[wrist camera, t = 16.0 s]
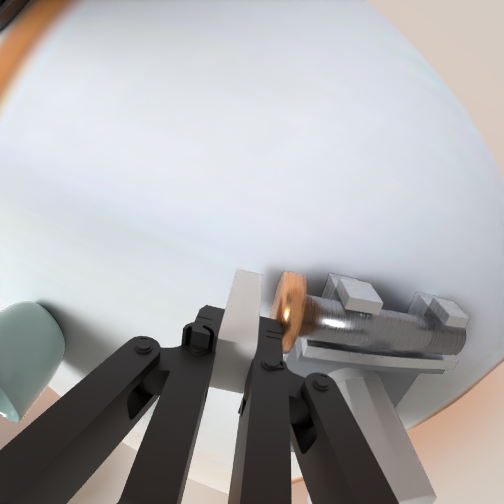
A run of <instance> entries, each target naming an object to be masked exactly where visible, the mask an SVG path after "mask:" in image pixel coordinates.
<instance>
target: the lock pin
mask: <svg viewBox="0 0 504 504" xmlns="http://www.w3.org/2000/svg"><path fill="white" fill-rule="evenodd" d="M306 293H307V284H306V278H305V276H304V275H302V274H297V273H292V272H288V271H284V272H283V274H282V276H281V278H280V281H279V283H278V286H277V290H276V293H275V297H274V301H273V305H272V309H271V314H270V318H271V319H276V320H278V322H279V323H280V325H281V326H282V344H283V354H288V353H290V351H291V350H292V348H293V347H294V344H295V342H296V340H297V337H298V338H304V339H310V340H316V341H322V342H328V343H335V344H342V345H349V346H356V347H364V348H372V349H380V350H389V351H399V352H410V353H421V354H434V355H450V356H454V355H457V354H458V353H459V352H460V351H461V350H462V348H463V346H464V344H465V340H466V330H465V328H461V327H454V326H447V325H444V324H443V322H442V321H441V320H440V319H438V318H432V317H425V316H419V315H414V314H408V313H402V312H396V311H391V310H385V309H381V310H380V313H379V315H377V314H371V313H365V312H360V311H354V310H349V309H345V308H344V305H343V303H342V301H337V300H332V299H327V298H322V297H317V296H312V295H307V294H306Z"/></svg>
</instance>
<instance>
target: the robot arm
mask: <svg viewBox="0 0 504 504" xmlns="http://www.w3.org/2000/svg"><path fill="white" fill-rule="evenodd" d="M27 1H28V0H0V30H1V29H2V28H3V27H4V26H5V25H6V24H7V23H8V22H9V21H10V20H11V19H12V18H13V17H14V16H15V15H16V14H17V13H18V12H19V11H20V10H21V8H22V7H23V6H24V5H25V4H26V3H27ZM262 275H263V274H258V273H254V272H249V271H245V270H240V269H237V270H236V273H235V277H234V281H233V284H232V288H231V291H230V295H229V298H228V302H227V306H226V309H221V308H217V307H212V306H208V305H206V306H204V307H203V308H201V309H200V310H199V313H198V315H197V317H196V320H195V322H193V323H189V324H187V325H186V326H185V327H184V328H183V334H182V345H181V346H179V347H174V348H161V347H160V345H159V343H158V342H157V341H156V340H154V339H153V338H150V337H147V336H138V337H134V338H132V339H130V340H129V341H128V342H127V343H125V344H124V345H123V346H122V347H121V348H119V349H118V350H117V351H116V352H115V353H113V354H112V355H111V356H110V357H109V358H107V359H106V360H105V361H104V362H103V363H101V364H100V365H99V366H98V367H97V368H96V369H94V370H93V371H92V372H91V373H90V374H88V375H87V376H86V377H85V378H84V379H82V380H81V381H80V382H79V383H78V384H77V385H75V386H74V387H73V388H72V389H71V390H69V391H68V392H67V393H66V394H65V395H64V396H62V397H61V398H60V399H59V400H58V401H57V402H55V403H54V404H53V405H52V406H51V407H50V408H48V409H47V410H46V411H45V412H44V413H43V414H41V415H40V416H39V417H38V418H37V419H36V420H34V421H33V422H32V423H31V424H30V425H29V426H27V427H26V428H25V429H24V430H23V431H22V432H21V433H19V434H18V435H17V436H16V437H15V438H14V439H12V440H11V441H10V442H9V443H8V444H7V445H6V446H4V447H3V448H2V449H1V450H0V504H67V503H68V501H69V500H70V499H71V498H72V497H73V496H74V495H75V494H76V492H77V491H78V490H79V489H80V488H81V487H82V486H83V485H84V483H85V482H86V481H87V480H88V479H89V477H91V476H92V474H93V473H94V472H95V471H96V470H97V469H98V468H99V466H100V465H101V464H102V463H103V462H104V461H105V459H106V458H107V457H108V456H109V455H110V454H111V452H112V451H113V450H114V449H115V448H116V447H117V446H118V444H119V443H120V442H121V441H122V440H123V439H124V437H125V436H126V435H127V434H128V433H129V432H130V430H131V429H132V428H133V427H134V426H135V425H136V423H137V422H138V421H139V420H140V419H141V417H142V416H143V415H144V414H145V413H146V412H147V410H148V409H149V408H150V407H151V406H152V404H153V403H154V402H155V401H156V400H157V398H158V397H159V396H160V397H159V400H158V402H157V405H156V407H155V410H154V412H153V415H152V417H151V420H150V422H149V425H148V427H147V430H146V432H145V435H144V437H143V440H142V442H141V445H140V447H139V450H138V453H137V455H136V458H135V461H134V463H133V466H132V468H131V471H130V474H129V476H128V479H127V481H126V484H125V487H124V490H123V492H122V495H121V498H120V500H119V502H118V503H117V504H181V501H182V497H183V493H184V489H185V484H186V480H187V476H188V472H189V468H190V463H191V459H192V455H193V451H194V447H195V443H196V439H197V434H198V430H199V426H200V422H201V418H202V414H203V410H204V406H205V402H206V398H207V393H208V388H209V387H214V388H218V389H223V390H227V391H232V392H237V393H243V392H244V396H243V399H242V402H241V405H240V408H239V411H238V413H240V416H239V424H238V432H237V439H236V447H235V455H234V462H233V470H232V477H231V484H230V492H229V499H228V504H291V445H290V439H291V442H292V446H293V449H294V452H295V455H296V458H297V461H298V464H299V467H300V470H301V473H302V475H303V478H304V481H305V484H306V487H307V490H308V493H309V496H310V499H311V502H312V504H399V502H398V500H397V498H396V496H395V494H394V492H393V490H392V489H391V487H390V485H389V483H388V481H387V479H386V477H385V475H384V473H383V471H382V469H381V467H380V465H379V463H378V461H377V459H376V458H375V456H374V454H373V452H372V450H371V448H370V446H369V444H368V442H367V440H366V438H365V437H364V435H363V433H362V431H361V429H360V427H359V425H358V423H357V421H356V419H355V418H354V416H353V414H352V412H351V410H350V408H349V406H348V404H347V402H346V401H345V399H344V397H343V395H342V393H341V391H340V389H339V387H338V386H337V384H336V382H335V381H334V380H333V378H331V377H330V376H328V375H326V374H323V373H318V372H315V373H310V374H309V375H307V376H306V378H305V377H303V376H300V375H297V374H295V373H293V372H292V371H290V370H289V369H288V367H287V364H286V362H285V361H284V360H283V344H282V326H281V325H280V323H279V322H278V320H276V319H271V318H266V317H261V316H260V303H261V289H262Z"/></svg>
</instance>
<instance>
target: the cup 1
mask: <svg viewBox="0 0 504 504" xmlns="http://www.w3.org/2000/svg"><path fill="white" fill-rule="evenodd" d="M64 351H65V342H64V337H63V334H62V331H61V329H60V327H59V325H58V324H57V322H56V321H55V319H54V318H53V317H52V315H51V314H50V313H49V312H48V311H47V310H46V309H44V308H43V307H42V306H40V305H39V304H37V303H34V302H19V303H16V304H14V305H11V306H9V307H7V308H5V309H4V310H2V311H1V312H0V414H1V415H2V416H3V417H5V418H6V419H8V420H10V421H12V422H19V421H21V420H22V419H23V418H24V417H25V415H26V414H27V413H28V412H29V410H30V409H31V407H32V406H33V405H34V403H35V402H36V401H37V399H38V398H39V397H40V395H41V394H42V393H43V391H44V390H45V388H46V387H47V386H48V384H49V383H50V381H51V380H52V378H53V376H54V375H55V373H56V371H57V370H58V368H59V366H60V364H61V361H62V359H63V356H64Z"/></svg>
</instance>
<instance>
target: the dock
mask: <svg viewBox="0 0 504 504" xmlns="http://www.w3.org/2000/svg"><path fill="white" fill-rule="evenodd" d="M284 361H285V362H286V364H287V367H288V369H289V370H290V371H292V372H293V373H295V374H297V375H300V376H303V377H305V378H306V376H307V375H309V374H310V373H315V372H318V373H323V374H326V375H327V374H329V373H331V372H333V371H336V370H339V369H342V368H354V369H364V370H374V371H375V372H376V373H377V374H378V375H379V376H380V378H381V381H382V383H383V386H384V388H385V390H386V392H387V394H388V396H389V398H390V400H391V402H392V404H393V406H394V408H395V407H396V405H397V404H398V403H399V401H400V400H401V399H402V397H403V396H404V394H405V393H406V392H407V390H408V389H409V387H410V386H411V385H412V383H413V382H414V380H415V379H416V377H417V376H418V374H419V373H433V374H443V372H444V371H445V369H421V368H403V367H389V366H377V365H366V364H357V363H348V362H340V361H332V360H324V359H317V358H310V357H304V356H303V351H302V343H301V338H298V337H297V340H296V342H295V344H294V347H293V348H292V350H291V351H290V353H288V354H285V357H284ZM290 445H291V452H294V449H293V446H292V442H291V439H290Z"/></svg>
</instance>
